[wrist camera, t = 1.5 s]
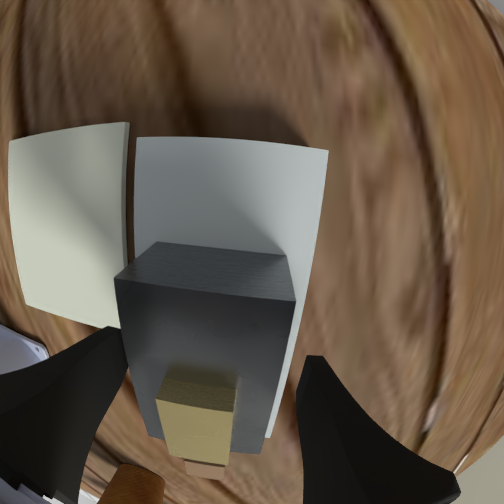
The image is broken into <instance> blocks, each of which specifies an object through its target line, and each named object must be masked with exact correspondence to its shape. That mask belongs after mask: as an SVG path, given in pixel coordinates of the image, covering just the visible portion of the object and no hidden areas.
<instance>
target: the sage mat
mask: <svg viewBox="0 0 504 504" xmlns="http://www.w3.org/2000/svg"><path fill="white" fill-rule="evenodd" d="M129 127H130V123H129V122H117V123H106V124H97V125H89V126H82V127H75V128H69V129H63V130H57V131H52V132H46V133H42V134H37V135H32V136H28V137H24V138H20V139H16V140H12V141H9V155H8V193H9V210H10V221H11V230H12V238H13V245H14V252H15V257H16V263H17V268H18V273H19V278H20V282H21V286H22V290H23V294H24V298H25V302H26V304H27V305H29V306H32V307H35V308H38V309H41V310H43V311H46V312H49V313H52V314H55V315H58V316H62V317H65V318H68V319H71V320H74V321H78V322H81V323H85V324H88V325H92V326H96V327H99V328H104V327H106V326H112V327H116V328H120V329H121V327H120V322H119V316H118V309H117V302H116V295H115V287H114V279H113V278H114V277H115V276H116V275H117V274H118V273H119V272H121V271H122V270H123V269H124V268H125V267H126V266H128V260H127V241H126V169H127V151H128V138H129Z"/></svg>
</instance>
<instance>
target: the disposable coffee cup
mask: <svg viewBox="0 0 504 504" xmlns="http://www.w3.org/2000/svg"><path fill="white" fill-rule="evenodd" d="M164 487H165V481H164V480H163V479H162V478H161V477H159V476H158V475H156V474H154V473H152V472H150V471H148V470H146V469H143V468H140V467H137V466H134V465H129V464H121V465H120V466H119V468H118V469H117V471H116V473H115V475H114V476H113V478H112V480H111V481H110V483H109V485H108V486H107V488H106V490H105V491H104V493H103V495H102V496H101V498H100V500H99V501H98V503H97V504H163V496H164Z"/></svg>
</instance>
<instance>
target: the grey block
mask: <svg viewBox="0 0 504 504" xmlns="http://www.w3.org/2000/svg"><path fill="white" fill-rule="evenodd" d="M113 279H114V287H115V295H116V302H117V309H118V316H119V322H120V327H121V333H122V338H123V343H124V348H125V353H126V357H127V362H128V366H129V370H130V374H131V378H132V382H133V386H134V390H135V394H136V397H137V401H138V404H139V407H140V411H141V414H142V417H143V420H144V423H145V426H146V429H147V432H148V435H149V436H151V437H155V438H159V439H163V440H166V443H167V447H168V450H169V454H170V455H172V456H177V457H181V458H186V459H192V460H197V461H203V462H209V463H216V464H223V465H228V463H229V455H230V452H240V453H251V454H260V452H261V449H262V445H263V442H264V438H265V434H266V431H267V427H268V423H269V420H270V416H271V412H272V408H273V404H274V400H275V396H276V392H277V388H278V384H279V380H280V376H281V371H282V367H283V363H284V358H285V354H286V349H287V345H288V340H289V335H290V331H291V326H292V321H293V316H294V311H295V306H296V297H295V292H294V287H293V282H292V278H291V273H290V268H289V264H288V259H287V255H279V254H269V253H260V252H251V251H241V250H232V249H223V248H214V247H204V246H195V245H186V244H176V243H167V242H158V241H157V242H155V243H154V244H153V245H152V246H150V247H149V248H148V249H147V250H146V251H144V252H143V253H142V254H141V255H140V256H138V257H137V258H136V259H135V260H134V261H132V262H131V263H130V264H129V265H128V266H126V267H125V268H124V269H123V270H122V271H121V272H119V273H118V274H117V275H116V276H115V277H114V278H113Z"/></svg>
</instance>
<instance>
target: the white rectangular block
mask: <svg viewBox="0 0 504 504" xmlns="http://www.w3.org/2000/svg"><path fill="white" fill-rule="evenodd" d="M327 160H328V150H322V149H316V148H310V147H303V146H296V145H288V144H281V143H272V142H263V141H252V140H240V139H226V138H207V137H137V143H136V158H135V178H134V243H135V259H136V258H137V257H138V256H140V255H141V254H142V253H143V252H144V251H146V250H147V249H148V248H149V247H150V246H152V245H153V244H154V243H155V242H157V241H158V242H167V243H176V244H186V245H195V246H204V247H214V248H223V249H232V250H241V251H251V252H260V253H269V254H279V255H287V259H288V264H289V268H290V273H291V278H292V282H293V287H294V292H295V297H296V306H295V311H294V316H293V321H292V326H291V331H290V335H289V340H288V345H287V349H286V354H285V358H284V363H283V367H282V371H281V376H280V380H279V384H278V388H277V392H276V396H275V400H274V404H273V408H272V412H271V416H270V420H269V423H268V427H267V431H266V434H265V438H270V436H271V433H272V429H273V426H274V423H275V419H276V416H277V412H278V409H279V405H280V401H281V398H282V394H283V390H284V387H285V383H286V379H287V375H288V371H289V367H290V363H291V359H292V355H293V351H294V347H295V343H296V338H297V334H298V330H299V325H300V321H301V316H302V311H303V307H304V302H305V297H306V292H307V287H308V282H309V277H310V271H311V266H312V261H313V255H314V249H315V243H316V238H317V231H318V225H319V219H320V212H321V206H322V199H323V192H324V184H325V177H326V169H327ZM184 462H185V466H186V470H187V475H192V476H198V477H203V478H210V479H217V480H224V474H225V466H226V465H223V464H216V463H209V462H203V461H197V460H192V459H186V458H185V460H184Z"/></svg>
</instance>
